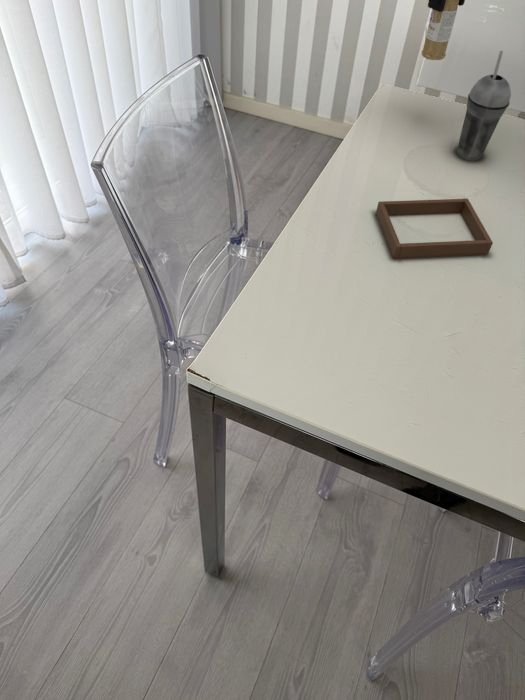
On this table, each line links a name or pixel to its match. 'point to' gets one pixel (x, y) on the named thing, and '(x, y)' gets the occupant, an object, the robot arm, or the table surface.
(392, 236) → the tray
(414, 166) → the table surface
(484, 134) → the beverage cup
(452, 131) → the table surface
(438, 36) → the sprinkles bottle
